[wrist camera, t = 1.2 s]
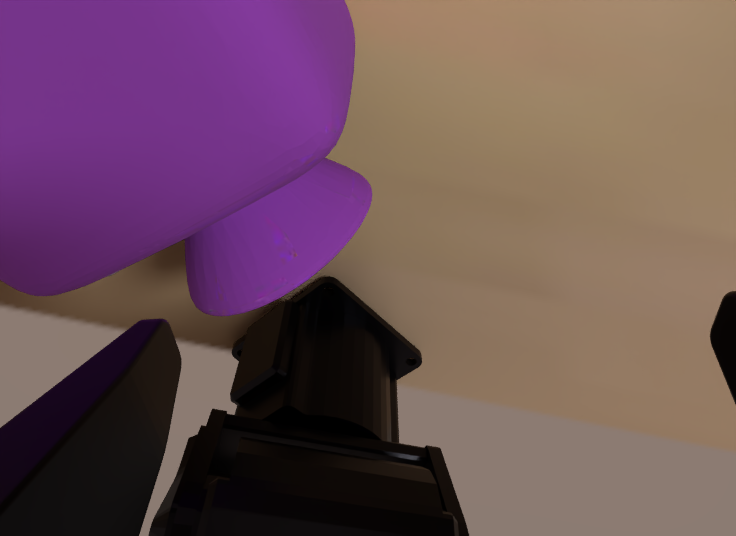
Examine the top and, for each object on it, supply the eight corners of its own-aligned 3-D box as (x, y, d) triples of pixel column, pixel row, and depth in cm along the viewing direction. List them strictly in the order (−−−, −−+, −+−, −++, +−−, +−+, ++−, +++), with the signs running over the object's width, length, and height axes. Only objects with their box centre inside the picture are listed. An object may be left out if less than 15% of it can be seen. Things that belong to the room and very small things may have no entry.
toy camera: (243, 247, 23) (172, 455, 15) (-88, -44, 17) (-514, 41, 9) (462, 80, 19) (527, 243, 11) (129, -384, 13) (-292, -805, 5)
